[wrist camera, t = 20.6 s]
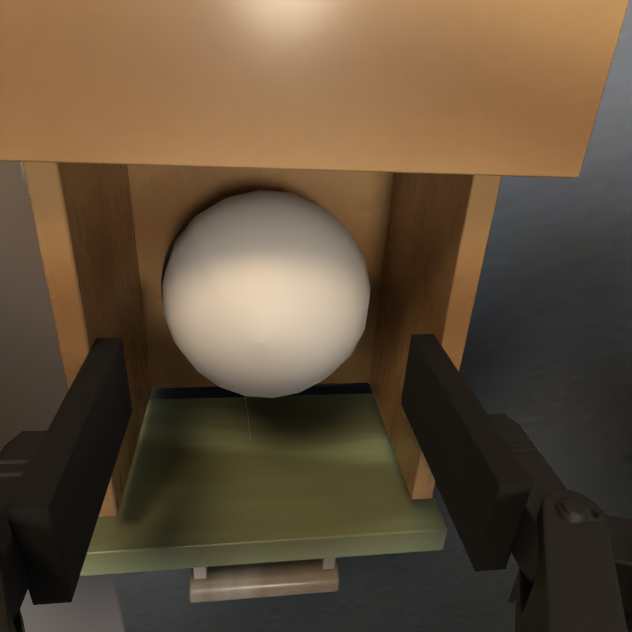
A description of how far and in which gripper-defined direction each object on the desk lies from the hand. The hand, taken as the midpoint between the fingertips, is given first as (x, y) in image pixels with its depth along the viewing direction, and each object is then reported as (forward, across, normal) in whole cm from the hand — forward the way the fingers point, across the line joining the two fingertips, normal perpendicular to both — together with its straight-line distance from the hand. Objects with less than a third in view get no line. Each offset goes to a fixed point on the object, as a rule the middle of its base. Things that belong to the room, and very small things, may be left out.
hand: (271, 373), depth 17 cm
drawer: (+8, 0, +3) cm, 8 cm away
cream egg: (+7, 0, 0) cm, 7 cm away
